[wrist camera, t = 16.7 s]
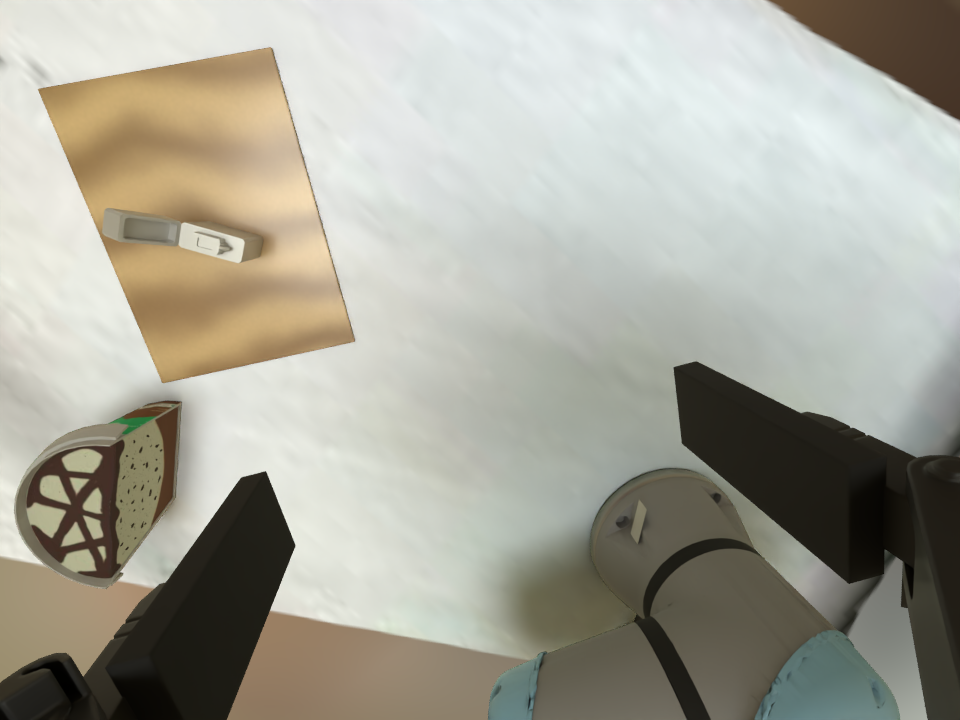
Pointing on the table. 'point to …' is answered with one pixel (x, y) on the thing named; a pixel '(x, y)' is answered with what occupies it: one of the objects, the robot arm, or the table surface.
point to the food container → (100, 493)
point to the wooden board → (206, 209)
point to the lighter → (182, 234)
